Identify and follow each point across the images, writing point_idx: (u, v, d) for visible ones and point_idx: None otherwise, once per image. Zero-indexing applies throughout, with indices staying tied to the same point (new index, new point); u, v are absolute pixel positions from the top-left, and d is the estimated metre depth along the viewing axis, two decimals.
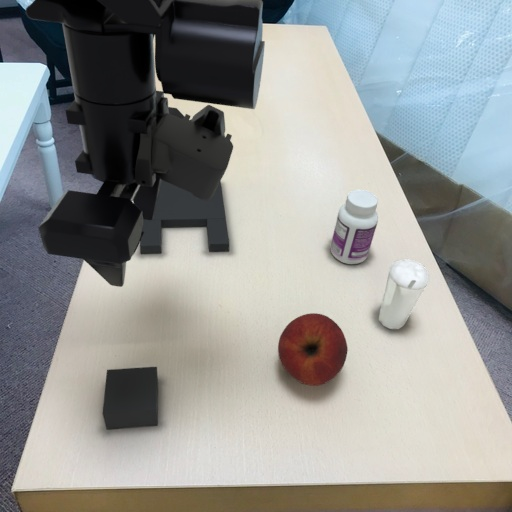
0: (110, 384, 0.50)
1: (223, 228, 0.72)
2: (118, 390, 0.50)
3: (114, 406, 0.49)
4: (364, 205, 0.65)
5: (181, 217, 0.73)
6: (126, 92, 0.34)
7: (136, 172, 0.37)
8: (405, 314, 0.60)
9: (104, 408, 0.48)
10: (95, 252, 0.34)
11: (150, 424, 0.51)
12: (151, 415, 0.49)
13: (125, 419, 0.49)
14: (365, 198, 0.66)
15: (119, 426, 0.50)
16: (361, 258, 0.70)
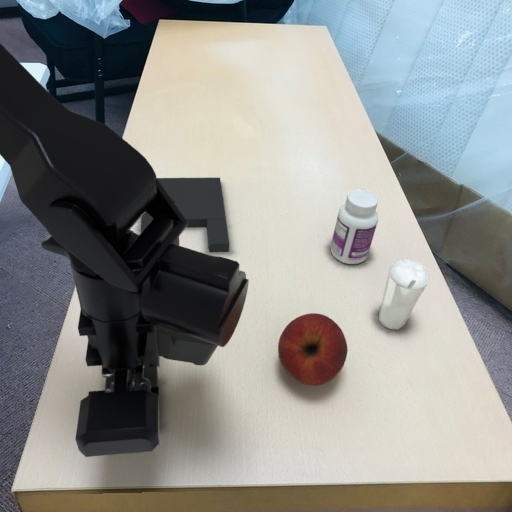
0: (110, 384, 0.50)
1: (223, 228, 0.72)
2: None
3: None
4: (364, 205, 0.65)
5: None
6: (117, 314, 0.39)
7: (144, 360, 0.43)
8: (405, 314, 0.60)
9: None
10: (130, 448, 0.39)
11: None
12: None
13: None
14: (365, 198, 0.66)
15: None
16: (361, 258, 0.70)
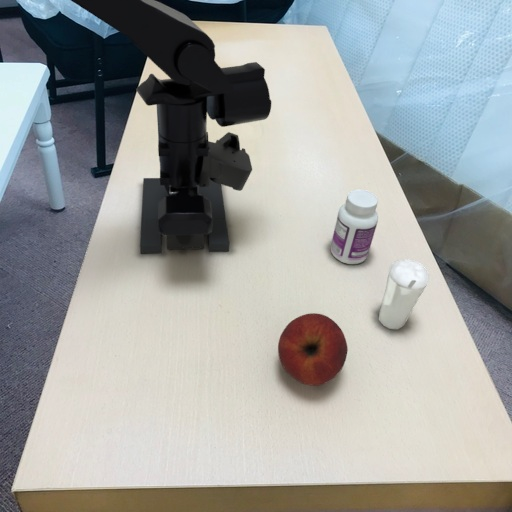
0: None
1: (223, 228, 0.72)
2: None
3: None
4: (364, 205, 0.65)
5: None
6: (202, 131, 0.59)
7: (200, 179, 0.62)
8: (405, 314, 0.60)
9: None
10: (193, 229, 0.59)
11: (198, 246, 0.70)
12: (199, 237, 0.69)
13: None
14: (365, 198, 0.66)
15: (176, 246, 0.69)
16: (361, 258, 0.70)
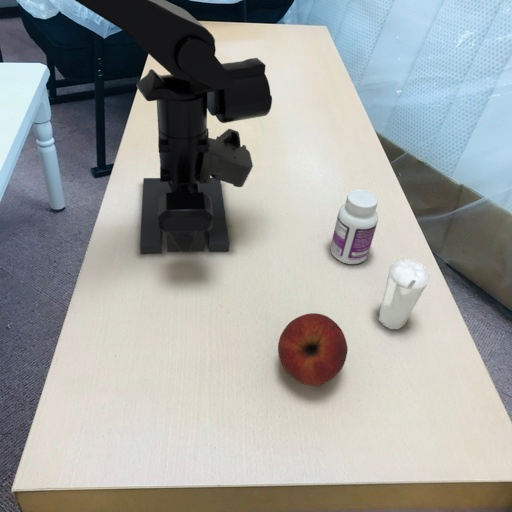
0: None
1: (223, 228, 0.72)
2: None
3: None
4: (364, 205, 0.65)
5: None
6: (203, 127, 0.58)
7: (200, 176, 0.62)
8: (405, 314, 0.60)
9: None
10: (194, 226, 0.58)
11: (199, 249, 0.70)
12: (200, 239, 0.69)
13: None
14: (365, 198, 0.66)
15: (177, 249, 0.70)
16: (361, 258, 0.70)
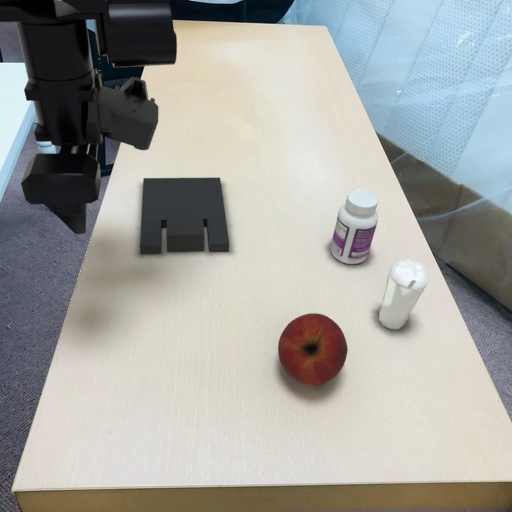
0: (170, 220, 0.70)
1: (223, 228, 0.72)
2: (176, 223, 0.70)
3: (174, 231, 0.68)
4: (364, 205, 0.65)
5: None
6: (79, 68, 0.44)
7: (87, 134, 0.48)
8: (405, 314, 0.60)
9: (167, 232, 0.68)
10: (70, 196, 0.44)
11: (199, 249, 0.70)
12: (200, 240, 0.69)
13: (182, 242, 0.69)
14: (365, 198, 0.66)
15: (177, 249, 0.70)
16: (361, 258, 0.70)
